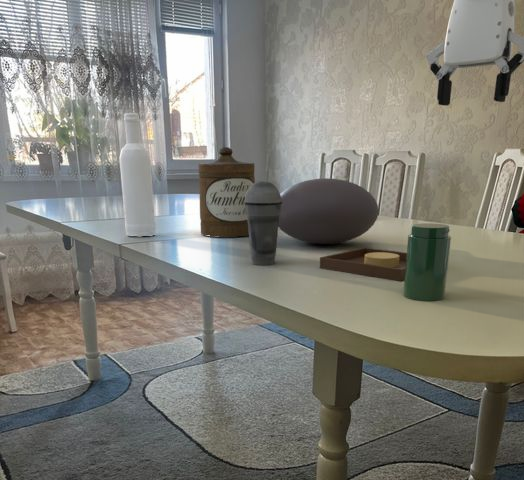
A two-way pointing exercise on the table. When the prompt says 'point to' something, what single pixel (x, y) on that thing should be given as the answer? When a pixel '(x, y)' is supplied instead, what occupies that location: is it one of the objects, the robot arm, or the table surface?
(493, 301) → the table surface
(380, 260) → the lid
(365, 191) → the smooth stone
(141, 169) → the bottle
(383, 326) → the table surface
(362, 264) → the tray
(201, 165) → the wooden container
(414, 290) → the jar
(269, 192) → the beverage cup
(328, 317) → the table surface
